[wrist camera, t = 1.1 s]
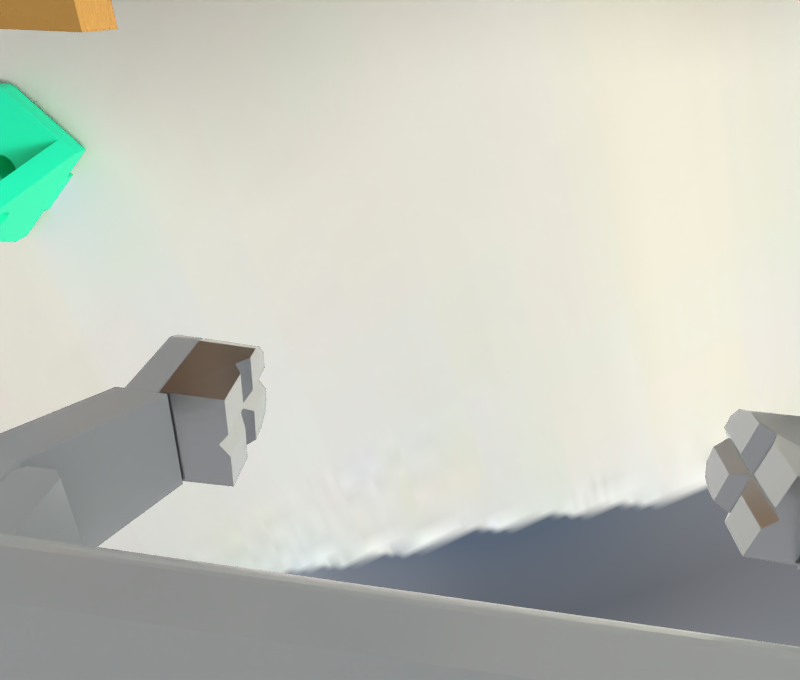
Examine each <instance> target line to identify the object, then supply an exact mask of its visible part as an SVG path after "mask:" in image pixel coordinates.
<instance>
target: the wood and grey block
mask: <svg viewBox="0 0 800 680" xmlns="http://www.w3.org/2000/svg"><path fill="white" fill-rule="evenodd" d="M0 29H20V30H44V31H67V32H89V31H101V30H113V29H117V25H116V21H115V16H114V11H113V7H112V2H111V0H0Z"/></svg>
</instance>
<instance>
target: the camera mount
mask: <svg viewBox="0 0 800 680" xmlns="http://www.w3.org/2000/svg"><path fill="white" fill-rule="evenodd" d="M85 150H86V149H85V148H83V147H82V146H81V145H80V144H79V143H78V142H77V141H76V140H74V139H73V138H72V137H71V136H70V135H69V134H68V133H66V132H65V131H64V130H63V129H62V128H61V127H60V126H59V125H57V124H56V123H55V122H54V121H53V120H52V119H51V118H50V117H48V116H47V115H46V114H45V113H44V112H43V111H42V110H41V109H39V108H38V107H37V106H36V105H35V104H34V103H33V102H31V101H30V100H29V99H28V98H27V97H26V96H25V95H24V94H22V93H21V92H20V91H19V90H18V89H17V88H16V87H14V86H13V85H11V84H8V83H2V84H0V242H16V241H18V240H20V239H22V238H24V237H25V236H27V235H28V233H29V232H30V230H31V229H32V227H33V226H34V224H35V223H36V221H37V220H38V219H39V217H40V216H41V214H42V213H43V211H45V210H47V209H49V208H50V207H51V206H52V204H53V203H54V201H55V200H56V198H57V197H58V196H59V194H60V193H61V191H62V190H63V188H64V187H65V185H66V184H67V182H68V181H69V180H70V178H71V177H72V175H73V174H71V173H70V172H71V170H72V169H73V167H74V166H75V164H76V163H77V161H78V160H79V158H80V157H81V156H82V154H83V153H84V151H85Z"/></svg>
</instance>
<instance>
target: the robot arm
mask: <svg viewBox="0 0 800 680" xmlns="http://www.w3.org/2000/svg"><path fill="white" fill-rule="evenodd" d="M264 368H265V366H264V354H263V351H262V349H261V348H260V347H259V346H252V345H245V344H239V343H232V342H225V341H219V340H212V339H203V338H199V337H191V336H183V335H175V336H171V337H170V338H169V339H168V340H167V341H166V342H165V343H164V344H163V345H162V346H161V348H160V349H159V350H158V351H157V352H156V353H155V354H154V355H153V357H152V358H151V359H150V360H149V361H148V362H147V363H146V364H145V366H144V367H143V368H142V369H141V370H140V371H139V372H138V373H137V375H136V376H135V377H134V378H133V379H132V380H131V381H130V382H129V384H128V385H127V386H126V387H125V388H121V387H114V388H112V389H109V390H107V391H104V392H102V393H99V394H97V395H94V396H92V397H89V398H87V399H84V400H82V401H79V402H77V403H74V404H72V405H70V406H67V407H65V408H62V409H60V410H57V411H55V412H52V413H50V414H47V415H45V416H42V417H40V418H37V419H35V420H32V421H30V422H28V423H25V424H23V425H20V426H18V427H15V428H13V429H10V430H8V431H5V432H3V433H0V680H800V647H797V646H790V645H783V644H776V643H769V642H762V641H755V640H748V639H741V638H733V637H727V636H719V635H713V634H706V633H699V632H692V631H685V630H678V629H670V628H664V627H656V626H649V625H643V624H635V623H628V622H622V621H614V620H607V619H601V618H593V617H586V616H579V615H572V614H565V613H558V612H551V611H544V610H537V609H530V608H523V607H515V606H509V605H502V604H494V603H488V602H481V601H473V600H466V599H459V598H452V597H445V596H438V595H431V594H424V593H417V592H410V591H403V590H396V589H389V588H382V587H375V586H367V585H361V584H354V583H347V582H339V581H333V580H326V579H319V578H312V577H304V576H297V575H290V574H283V573H276V572H269V571H262V570H255V569H248V568H241V567H234V566H227V565H220V564H213V563H206V562H199V561H192V560H185V559H178V558H171V557H164V556H157V555H150V554H142V553H135V552H128V551H121V550H114V549H107V548H100V547H97V546H99V545H100V544H101V543H103V542H104V541H105V540H107V539H108V538H110V537H111V536H112V535H114V534H115V533H116V532H118V531H119V530H120V529H122V528H123V527H125V526H126V525H127V524H129V523H130V522H131V521H133V520H134V519H135V518H137V517H138V516H139V515H141V514H142V513H144V512H145V511H146V510H148V509H149V508H150V507H152V506H153V505H154V504H156V503H157V502H159V501H160V500H161V499H163V498H164V497H165V496H167V495H168V494H169V493H171V492H172V491H173V490H175V489H176V488H178V487H179V486H180V485H182V484H183V481H188V482H198V483H207V484H216V485H225V486H234V485H235V483H236V481H237V478H238V476H239V474H240V472H241V470H242V468H243V466H244V464H245V462H246V460H247V444H249V443H251V442H252V441H254V440H256V438H257V436H258V434H259V432H260V429H261V427H262V423H263V419H264V415H265V407H266V388H265V386H264V385H263V384H262V383H261V382H260V380H259V377H260V375H261V373H262V372H263V370H264ZM724 428H725V431H726V433H727V436H728V439H726V440H724V441H723V442H721V443H719V444H718V445H716V446H714V447H713V449H712V452H711V454H710V456H709V458H708V460H707V463H706V475H705V478H706V483H707V487H708V490H709V492H710V494H711V496H712V498H713V500H714V501H715V502H716V503H717V504H718V505H719V506H721V507H722V508H723V509H724V510H726V511H727V512H728V516H727V518H726V521H725V524H726V526H727V528H728V529H729V531H730V533H731V535H732V537H733V539H734V541H735V543H736V545H737V547H738V549H739V550H740V552H741V554H742V556H744V557H749V558H756V559H761V560H768V561H774V562H780V563H786V564H792V565H798V566H797V569H798V570H800V416H793V415H784V414H775V413H767V412H758V411H750V410H741V409H739V410H738V411H736V412H735V413H734V414H733V415H731V417H730V418H729V420H728V422H727V424H726V425H725V427H724Z"/></svg>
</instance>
